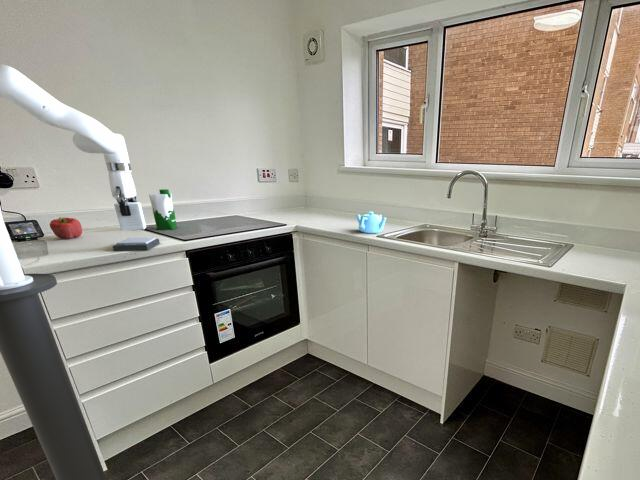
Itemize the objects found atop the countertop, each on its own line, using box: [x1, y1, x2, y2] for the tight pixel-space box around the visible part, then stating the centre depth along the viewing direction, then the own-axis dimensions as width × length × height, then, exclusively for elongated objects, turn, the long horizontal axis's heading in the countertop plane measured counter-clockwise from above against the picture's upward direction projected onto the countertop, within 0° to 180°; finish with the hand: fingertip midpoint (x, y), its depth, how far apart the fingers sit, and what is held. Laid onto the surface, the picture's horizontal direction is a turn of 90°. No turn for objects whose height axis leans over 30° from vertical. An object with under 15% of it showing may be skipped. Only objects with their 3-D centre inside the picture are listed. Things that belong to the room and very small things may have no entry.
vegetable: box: [49, 216, 83, 240], centre depth 156 cm, size 11×10×10 cm
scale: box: [112, 236, 161, 252], centre depth 147 cm, size 13×12×3 cm
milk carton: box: [148, 188, 178, 231], centre depth 183 cm, size 9×9×20 cm
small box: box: [114, 201, 147, 231], centre depth 143 cm, size 8×6×10 cm
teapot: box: [355, 211, 387, 234], centre depth 197 cm, size 15×15×11 cm
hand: (130, 214), depth 143 cm, fingers closed on small box, 6 cm apart
